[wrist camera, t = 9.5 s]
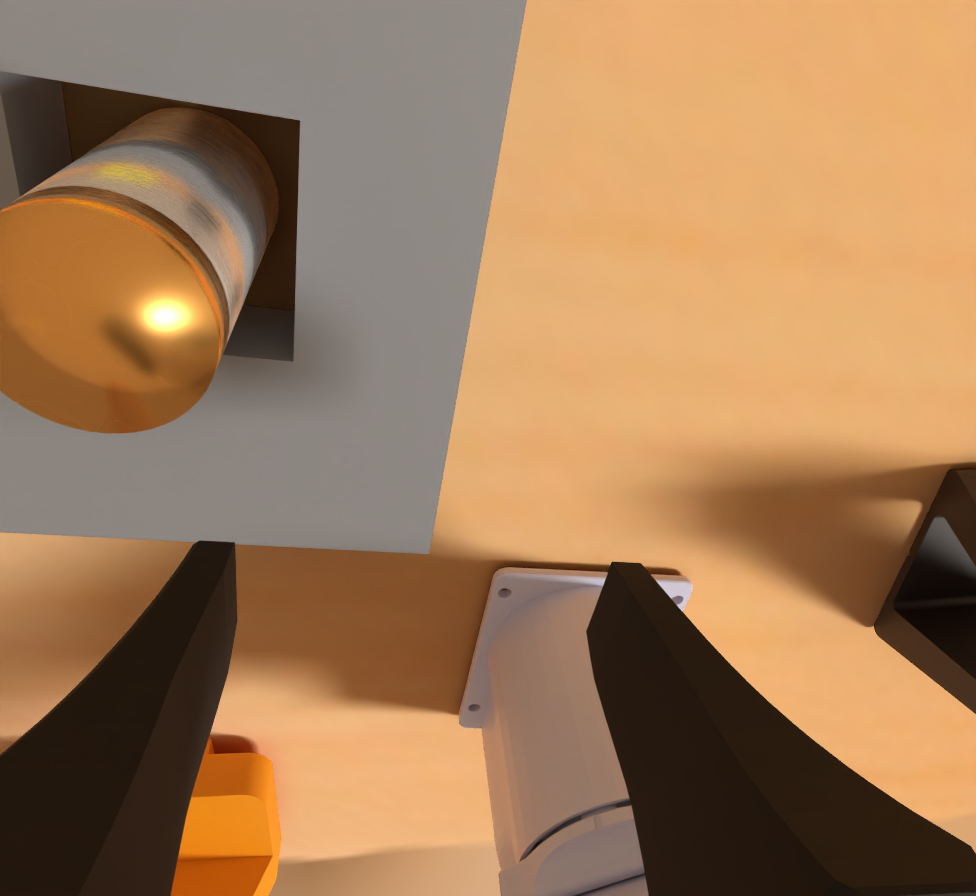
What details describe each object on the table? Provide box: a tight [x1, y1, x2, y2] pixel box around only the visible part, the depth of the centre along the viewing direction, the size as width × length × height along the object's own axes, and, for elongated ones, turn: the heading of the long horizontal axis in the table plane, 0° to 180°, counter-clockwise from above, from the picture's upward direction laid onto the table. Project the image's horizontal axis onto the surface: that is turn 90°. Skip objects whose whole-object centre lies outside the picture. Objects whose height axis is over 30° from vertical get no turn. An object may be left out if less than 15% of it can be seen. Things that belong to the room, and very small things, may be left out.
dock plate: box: [0, 0, 526, 554], centre depth 17 cm, size 18×14×3 cm
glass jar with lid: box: [0, 107, 279, 434], centre depth 15 cm, size 4×4×8 cm
